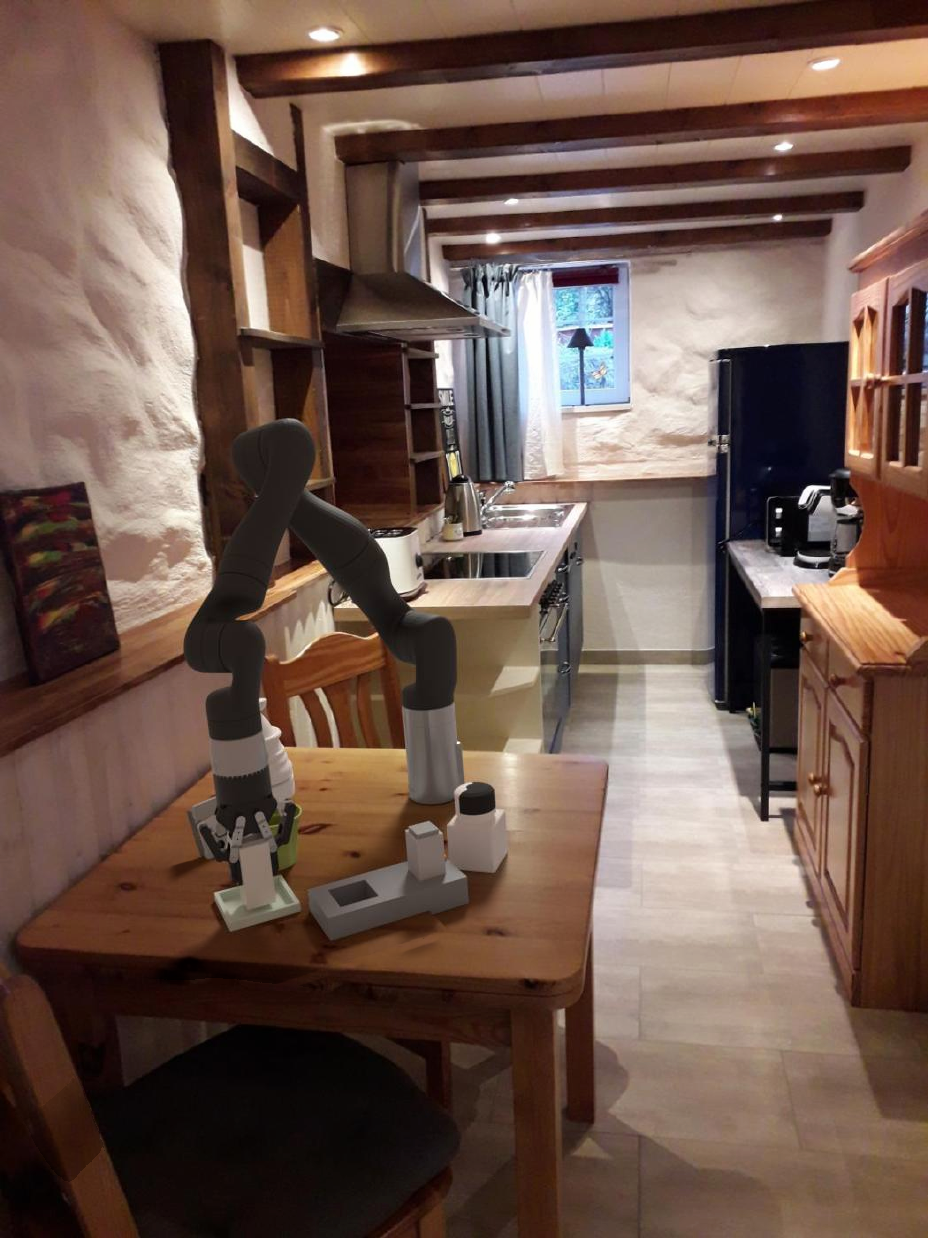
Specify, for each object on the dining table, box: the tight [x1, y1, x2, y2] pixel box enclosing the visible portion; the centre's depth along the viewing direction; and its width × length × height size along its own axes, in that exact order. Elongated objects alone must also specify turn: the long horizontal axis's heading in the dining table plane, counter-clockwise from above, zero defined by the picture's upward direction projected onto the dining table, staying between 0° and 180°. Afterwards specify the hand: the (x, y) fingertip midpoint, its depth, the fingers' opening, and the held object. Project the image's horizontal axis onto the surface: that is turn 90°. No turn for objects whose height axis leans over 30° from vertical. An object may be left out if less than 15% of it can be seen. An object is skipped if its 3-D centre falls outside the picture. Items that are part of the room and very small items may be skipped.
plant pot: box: [268, 803, 303, 872], centre depth 145 cm, size 9×9×9 cm
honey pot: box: [259, 697, 296, 800], centre depth 173 cm, size 13×13×18 cm
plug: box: [238, 833, 276, 910], centre depth 132 cm, size 4×4×10 cm
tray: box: [213, 874, 302, 933], centre depth 133 cm, size 10×10×2 cm
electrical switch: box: [186, 795, 228, 860], centre depth 153 cm, size 9×5×9 cm, turn 141°
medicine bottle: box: [446, 781, 509, 874], centre depth 142 cm, size 7×7×12 cm
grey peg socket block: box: [307, 820, 470, 942], centre depth 130 cm, size 20×9×11 cm, turn 116°
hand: (255, 878), depth 132 cm, fingers closed on plug, 4 cm apart
